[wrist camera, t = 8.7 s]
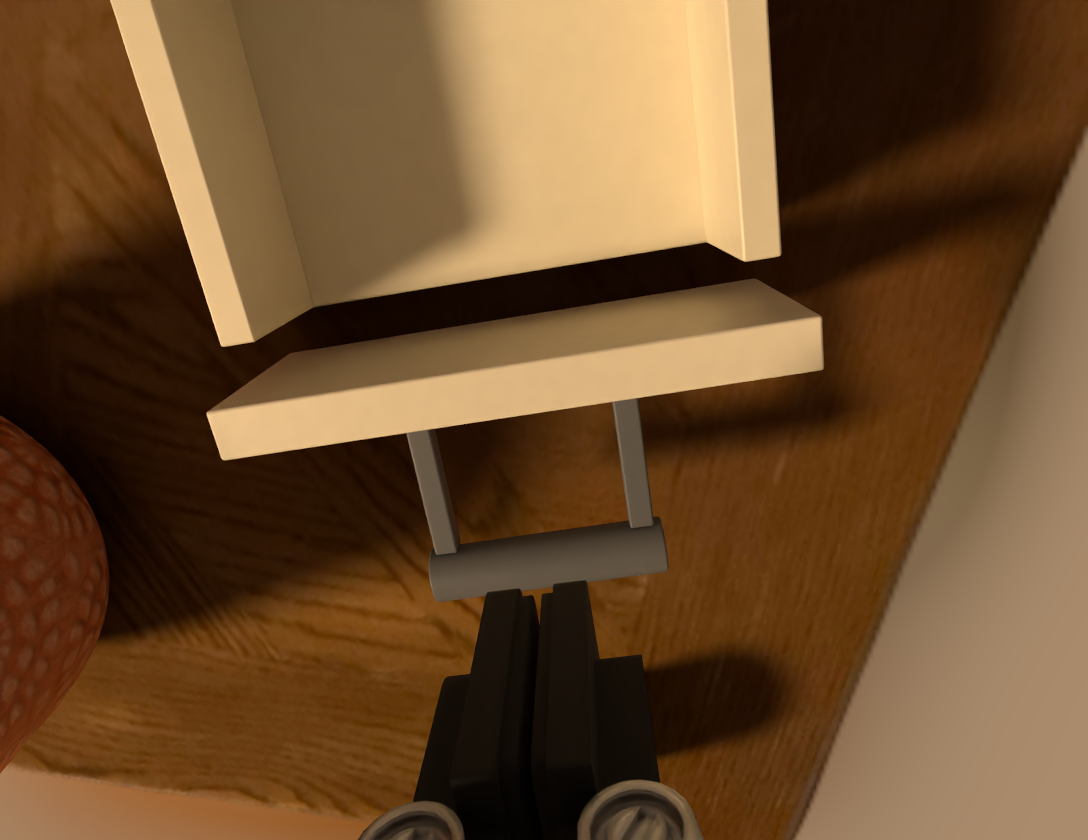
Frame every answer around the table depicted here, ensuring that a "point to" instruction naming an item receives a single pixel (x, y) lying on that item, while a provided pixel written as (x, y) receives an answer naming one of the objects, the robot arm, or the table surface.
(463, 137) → the drawer
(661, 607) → the table surface
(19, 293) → the table surface
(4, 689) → the planter
